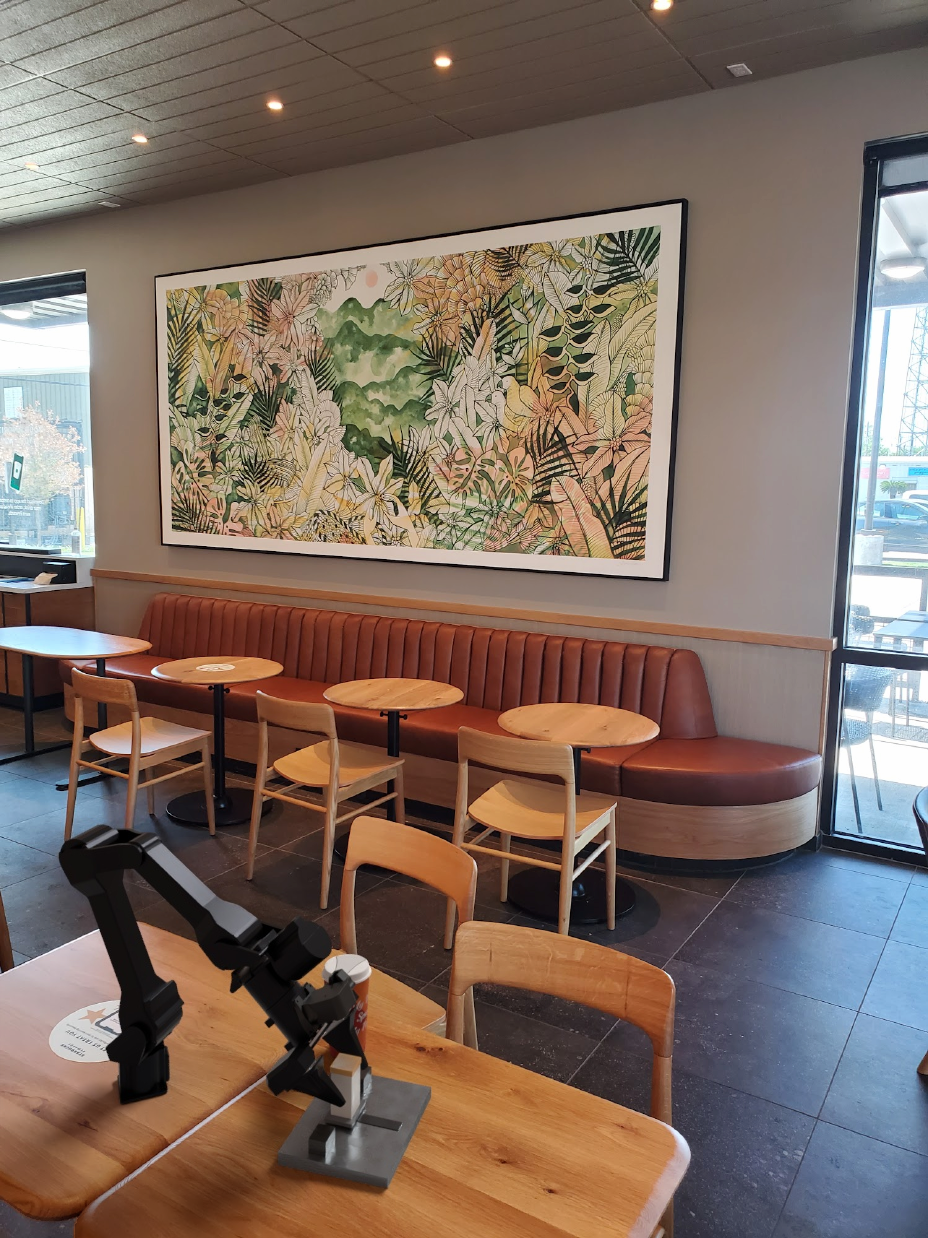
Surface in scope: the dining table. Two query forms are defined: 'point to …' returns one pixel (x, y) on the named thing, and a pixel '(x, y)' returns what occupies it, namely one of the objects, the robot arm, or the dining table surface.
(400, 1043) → the dining table surface
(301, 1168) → the plate
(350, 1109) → the handle
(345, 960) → the paper cup
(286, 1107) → the dining table surface
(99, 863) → the robot arm
